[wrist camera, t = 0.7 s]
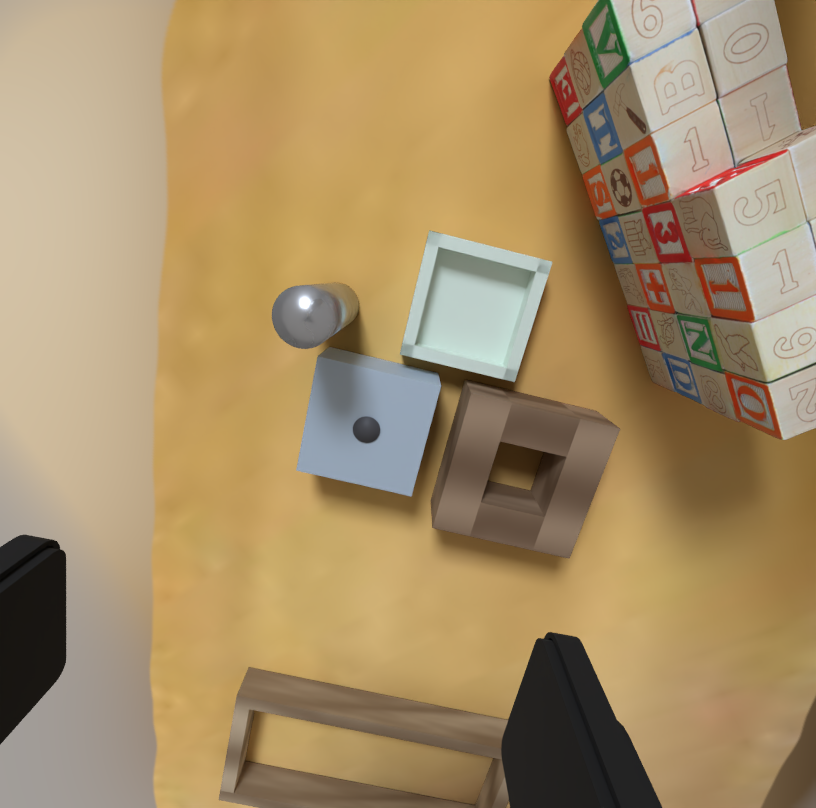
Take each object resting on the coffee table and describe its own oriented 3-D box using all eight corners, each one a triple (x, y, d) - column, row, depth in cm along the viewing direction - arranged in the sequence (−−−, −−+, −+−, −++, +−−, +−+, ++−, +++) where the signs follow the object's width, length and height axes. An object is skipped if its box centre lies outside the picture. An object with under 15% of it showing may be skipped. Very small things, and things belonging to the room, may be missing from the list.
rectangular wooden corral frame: (248, 667, 40) (236, 695, 37) (521, 722, 41) (528, 754, 39) (230, 767, 44) (218, 799, 41) (483, 816, 45) (487, 850, 42)
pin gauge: (320, 277, 31) (277, 278, 21) (363, 288, 31) (339, 294, 21) (312, 321, 32) (267, 340, 22) (354, 331, 32) (327, 355, 22)
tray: (428, 233, 30) (429, 230, 28) (543, 262, 30) (552, 262, 29) (400, 349, 32) (399, 354, 30) (508, 375, 33) (514, 382, 31)
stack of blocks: (543, 77, 28) (639, -71, 16) (642, 23, 27) (822, -177, 15) (652, 384, 33) (785, 445, 21) (738, 346, 32) (928, 388, 20)
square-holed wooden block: (464, 379, 33) (471, 393, 29) (596, 410, 33) (620, 428, 29) (430, 500, 35) (432, 527, 32) (552, 528, 36) (569, 558, 32)
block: (329, 346, 32) (317, 356, 28) (438, 372, 33) (441, 386, 29) (309, 448, 34) (296, 470, 30) (411, 472, 35) (411, 497, 31)
